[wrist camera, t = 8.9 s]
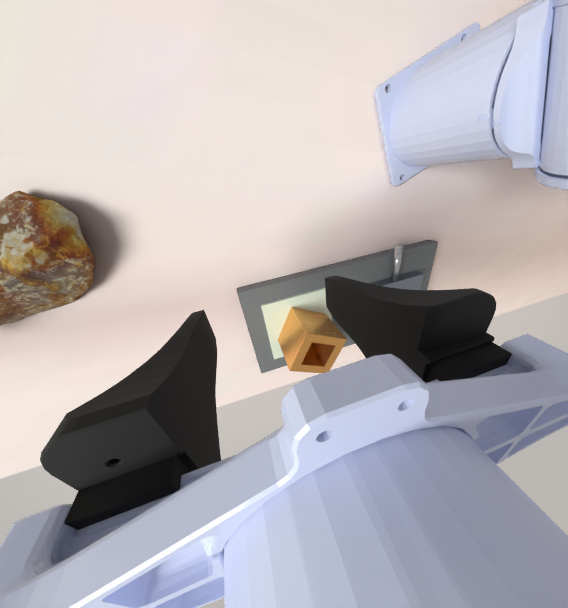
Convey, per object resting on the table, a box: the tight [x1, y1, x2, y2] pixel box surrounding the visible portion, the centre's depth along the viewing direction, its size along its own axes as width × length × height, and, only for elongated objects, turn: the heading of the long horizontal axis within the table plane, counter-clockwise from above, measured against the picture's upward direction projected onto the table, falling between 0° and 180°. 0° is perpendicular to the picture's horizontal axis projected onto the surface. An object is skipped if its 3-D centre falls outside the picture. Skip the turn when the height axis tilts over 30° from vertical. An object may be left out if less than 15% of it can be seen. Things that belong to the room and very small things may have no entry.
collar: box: [278, 307, 347, 373], centre depth 23 cm, size 5×5×5 cm
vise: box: [369, 245, 424, 290], centre depth 24 cm, size 7×10×4 cm
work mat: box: [237, 240, 438, 373], centre depth 27 cm, size 24×12×2 cm, turn 99°
